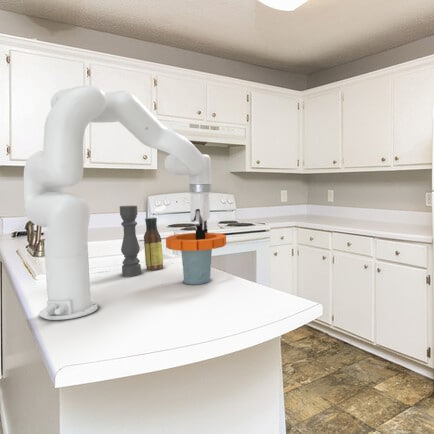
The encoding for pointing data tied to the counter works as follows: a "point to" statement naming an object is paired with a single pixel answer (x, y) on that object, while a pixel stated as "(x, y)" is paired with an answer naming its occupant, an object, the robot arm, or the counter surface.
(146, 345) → the counter surface
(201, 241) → the ring
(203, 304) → the counter surface
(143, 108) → the robot arm
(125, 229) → the candle holder
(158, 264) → the sauce bottle
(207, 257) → the blue-grey plant pot
